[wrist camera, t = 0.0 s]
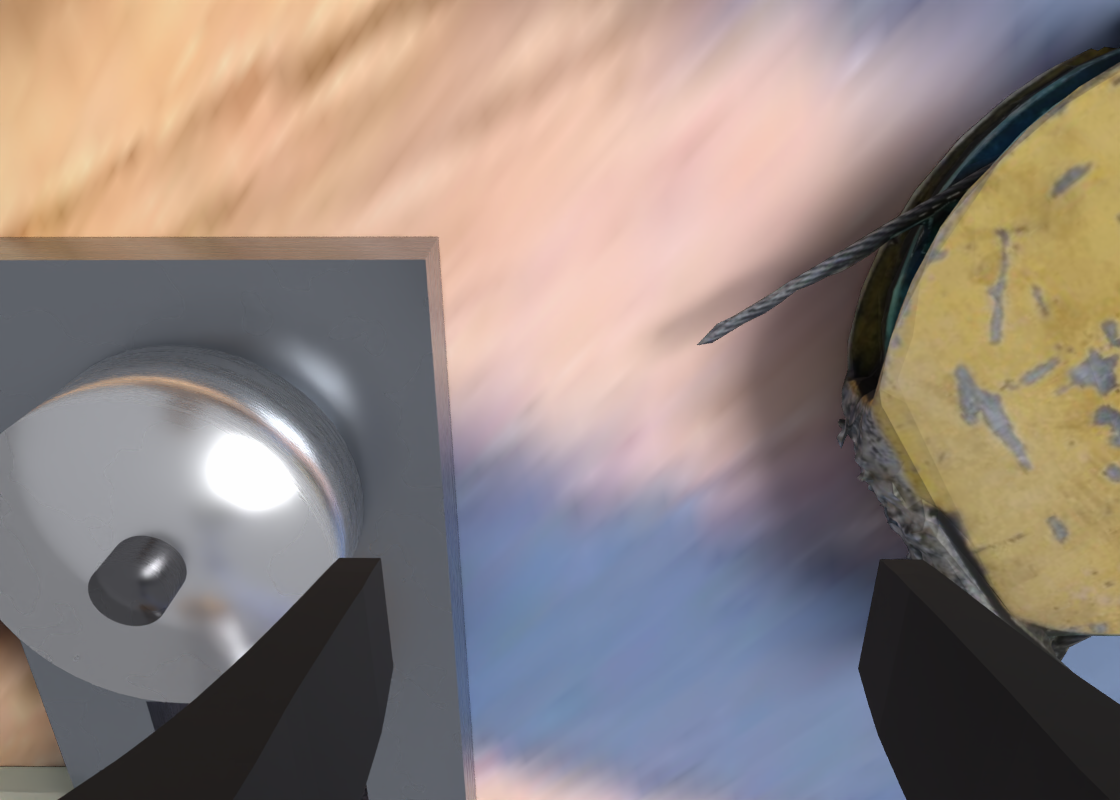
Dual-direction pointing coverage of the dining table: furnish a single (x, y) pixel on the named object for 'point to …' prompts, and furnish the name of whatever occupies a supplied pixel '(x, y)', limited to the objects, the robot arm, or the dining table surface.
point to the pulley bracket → (226, 476)
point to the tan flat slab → (1000, 358)
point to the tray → (34, 783)
